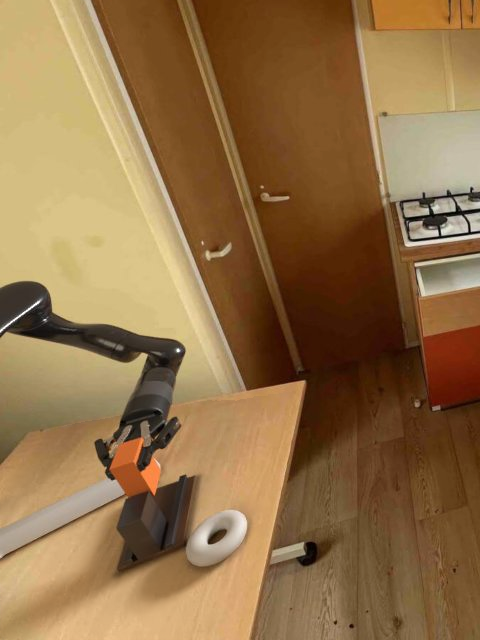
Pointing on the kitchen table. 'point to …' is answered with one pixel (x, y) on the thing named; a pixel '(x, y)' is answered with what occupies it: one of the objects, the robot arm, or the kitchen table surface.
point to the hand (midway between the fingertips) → (126, 472)
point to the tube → (58, 514)
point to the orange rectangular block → (134, 470)
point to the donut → (212, 554)
